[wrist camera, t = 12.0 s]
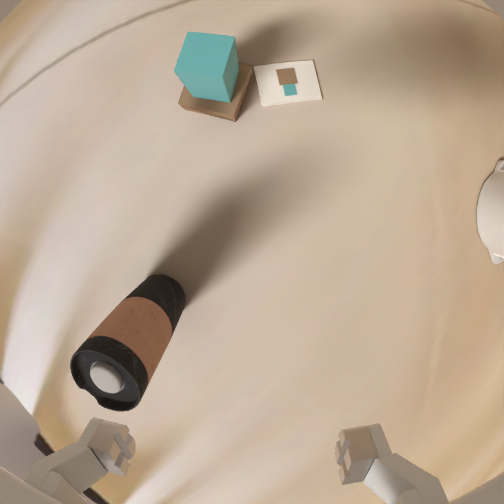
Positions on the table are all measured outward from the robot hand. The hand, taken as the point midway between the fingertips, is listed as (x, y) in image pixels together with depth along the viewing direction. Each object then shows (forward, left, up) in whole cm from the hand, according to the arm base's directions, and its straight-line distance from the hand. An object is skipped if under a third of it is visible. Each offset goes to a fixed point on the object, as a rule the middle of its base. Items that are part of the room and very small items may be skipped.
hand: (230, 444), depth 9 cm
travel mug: (+13, +7, -31) cm, 34 cm away
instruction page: (-6, -22, -31) cm, 38 cm away
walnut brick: (+3, -21, -31) cm, 37 cm away
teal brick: (+3, -21, -27) cm, 34 cm away
